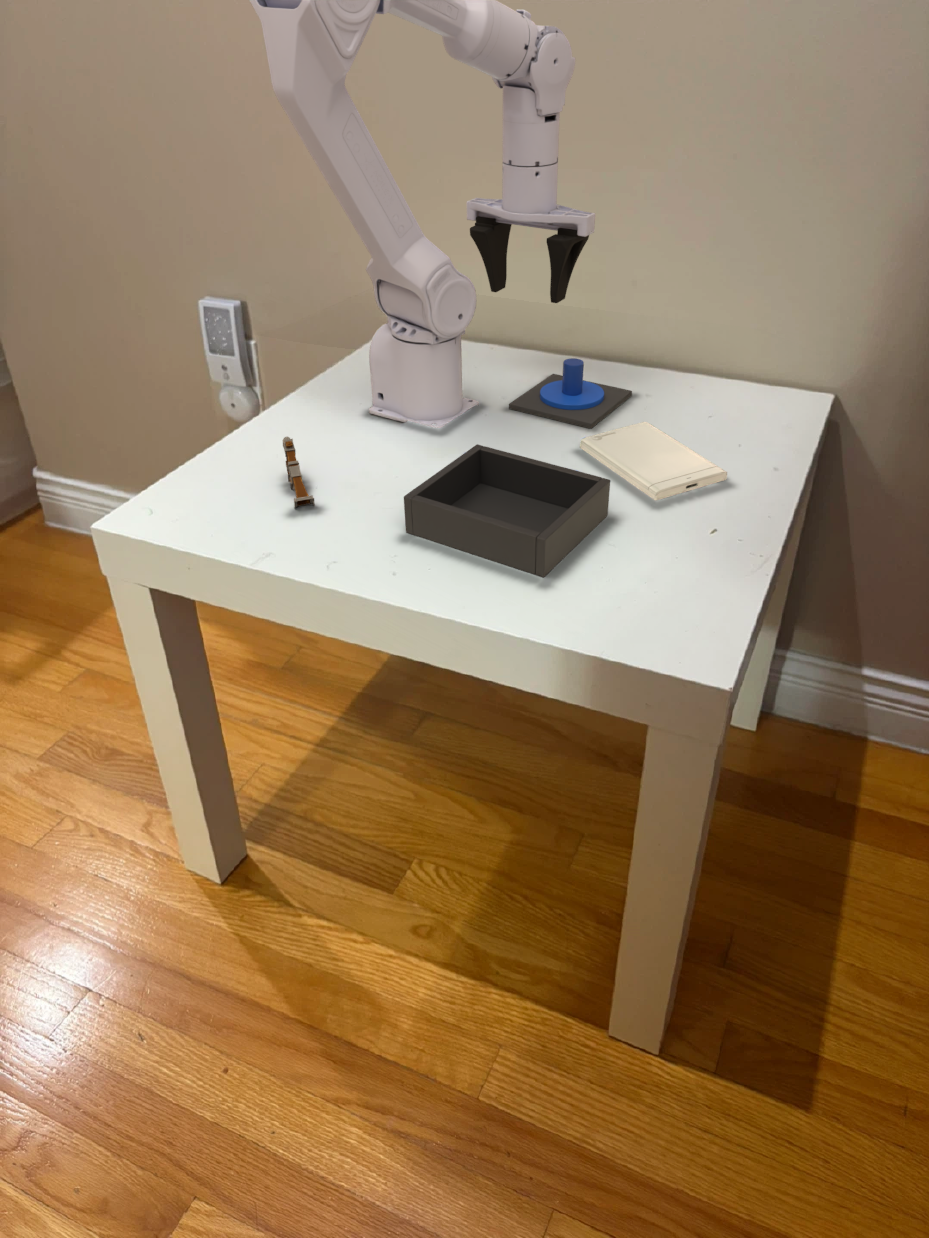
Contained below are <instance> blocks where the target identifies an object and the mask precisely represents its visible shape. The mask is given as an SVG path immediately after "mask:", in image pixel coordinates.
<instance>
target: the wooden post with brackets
mask: <svg viewBox="0 0 929 1238" xmlns="http://www.w3.org/2000/svg"><path fill="white" fill-rule="evenodd" d="M282 447H283V451H284V454H285V458H286V459H285V468H286V472H287V482H288V483H290V490H293V491H294V493H295V498H293V505H294V508H298V507H299V506H305V505H310V506H312V505H313V507H315V506H316V505H315V497H314V495H313V494H312V495H309V493H308V491H307V489H306V486H305V484H304V482H303V474H302V472H301V469H300V462H299V460H297V457H296V448H295V444H294V439H293V438H291V437H289V436H284V437H283V439H282Z"/></svg>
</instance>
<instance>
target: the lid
mask: <svg viewBox="0 0 929 1238" xmlns="http://www.w3.org/2000/svg"><path fill="white" fill-rule="evenodd" d="M584 365H585V362H584V360H583V359H581V358H574V357H573V358H572V357H571V358H566V359H564V360H563V362H562V376H563V379H562V380H560V381H554V382H551V383H548V384H546V385H545V386H543V387H542V388H541V390H540V399H541V400H542V401H543V402H544V403H545V404H547V405H549V406H551V407H554V408H559V409H565V410H581V409H588V408H592V407H595V406H597V405H599V404H600V403H601V402H602V401H603V399H604V391H603V389H602V388H601V387H600V386H598V385H596V384H594V383H595V382H594V383H591V382H592V381H589V382H587V381H588V380H585V381H583V380H584Z"/></svg>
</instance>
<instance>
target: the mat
mask: <svg viewBox="0 0 929 1238" xmlns="http://www.w3.org/2000/svg"><path fill="white" fill-rule="evenodd" d="M562 379H563V374H557V373H552V374H550V375H549V376H547V377H546V378H544V379H543V380H541V381H540V382H539V383H537V384H536V385H534V386H533V387H531V388H530V389H528V390H527V391H526V392H524V393H522V395H519V397H517V398H515V399H514V400H512V401H511V402H509V404H508V409H509V410H511V411H512V410H513V411H516V412H520V413H525V414H529V415H533V416H537V417H542V418H546V419H550V420H553V421H558V422H562V423H566V424H570V425H575V426H578V427H579V426H580V427H583V428H587V429H593V428H594V427H595V426H596V425H598V424H599V423H600V422H601V421H602V420H604V419H605V418H606V417H607V416H609V415H610V414H612V413H613V412H614V411H615V410H616V409H617V408H619V407H620V406H621V405H622V404H623V403H624V402H626V401H627V400H628V399H629V398H631V397H632V396H633V391H632V390H630V389H625V388H621V387H617V386H612V385H608V384H603V383H599V382H593V381H588V380H584V379H583V381H587V382H591V383H594V384H596V385H598V386H600V387H601V388H602V389H603V391H604V399H603V401H602V402H601V403H600V404H599V405H597V406H595V407H592V408H588V409H581V410H565V409H559V408H554V407H551V406H549V405H547V404H545V403H544V402H543V401H542V400H541V399H540V390H541V388H542V387H543V386H545V385H546V384H548V383H551V382H554V381H560V380H562Z"/></svg>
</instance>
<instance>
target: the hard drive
mask: <svg viewBox="0 0 929 1238" xmlns="http://www.w3.org/2000/svg"><path fill="white" fill-rule="evenodd" d="M579 448H580V449H581V450H583V451H584V452H585V453H587V454H588V455H589V456H592V458H594V459H595V460H597V461H598V462H599V463H601V464H602V465H604V466H605V467H607V468H608V469H610V470H611V471H612V472H614V473H615V474H616V475H618V476H619V477H621V478H622V479H624V480H625V481H627V483H629V484H631V485H632V486H634V487H635V488H636V489H638V490H639V491H641V492H642V493H643V494H645V495H646V496H648V497H649V498H650V499H652V500H654V501H659V500H662V499H666V498H669V497H672V496H673V497H674V496H677V495H679V494H684V493H686V492H689V491H694V490H696V489H700V488H703V487H707V486H710V485H713V484H716V483H719V482H723V481H727V478H728V471H726V470H725V469H723V468H721V467H720V466H718V465H717V464H715V463H714V462H712V461H710V460H709V459H707V458H706V457H704V456H703V455H701V454H699V452H696V451H694V450H692V449H691V447H688V446H687V445H685V444H683V443H681V442H680V441H678V440H676V439H675V438H673V437H672V436H670V435H669V434H667V433H666V432H664V431H662V430H661V429H660V428H658V427H656V426H654V425H652V424H651V423H649V422H648V421H641V422H637V423H634V424H629V425H626V426H622V427H618V428H615V429H611V430H607V431H603V432H600V433H597V434H592V435H589V436H586V437H583V438H581V439H580V444H579Z"/></svg>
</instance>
